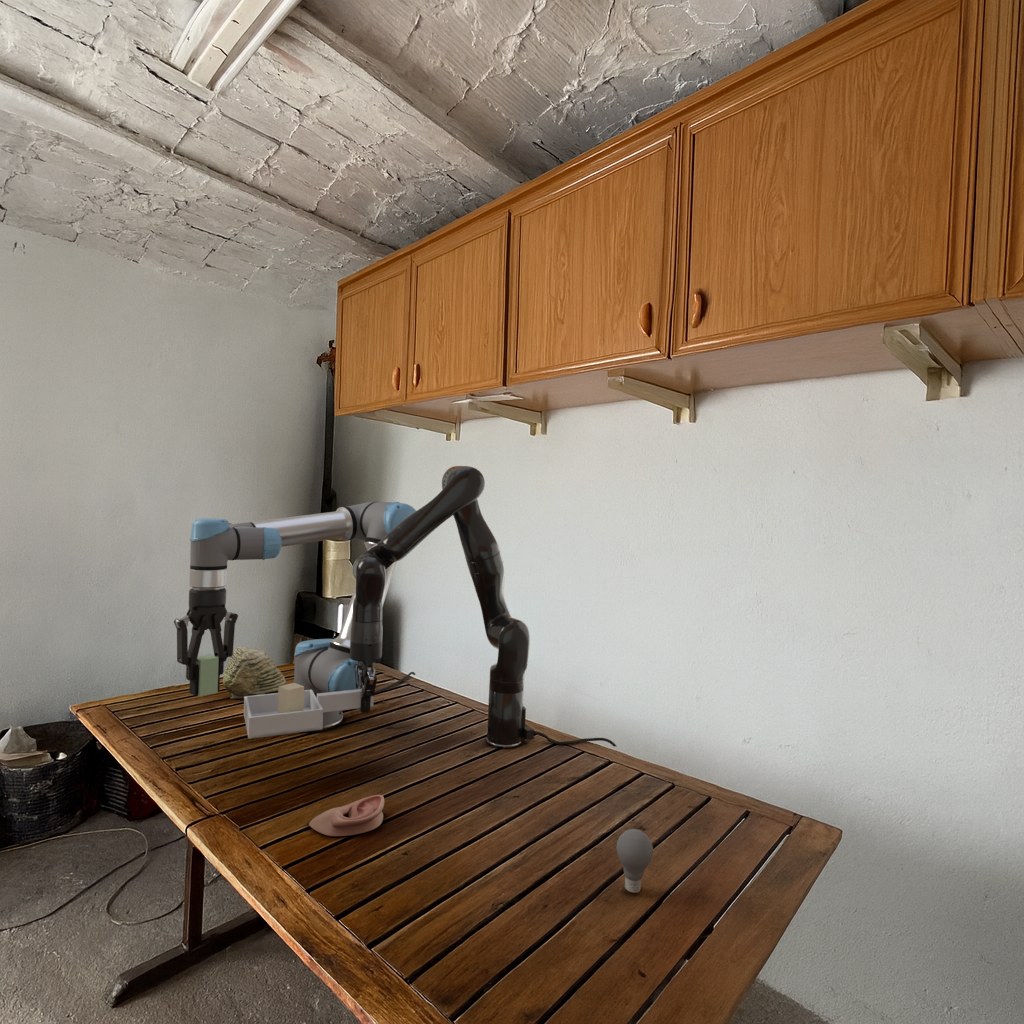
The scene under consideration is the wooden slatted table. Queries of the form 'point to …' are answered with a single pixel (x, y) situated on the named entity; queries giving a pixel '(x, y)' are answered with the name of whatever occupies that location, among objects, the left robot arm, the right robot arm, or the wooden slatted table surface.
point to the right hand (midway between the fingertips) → (364, 710)
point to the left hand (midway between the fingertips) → (204, 691)
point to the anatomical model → (351, 817)
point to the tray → (269, 723)
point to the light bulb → (634, 857)
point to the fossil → (251, 673)
